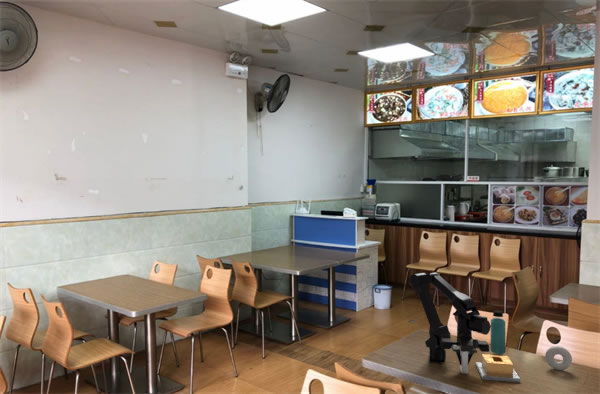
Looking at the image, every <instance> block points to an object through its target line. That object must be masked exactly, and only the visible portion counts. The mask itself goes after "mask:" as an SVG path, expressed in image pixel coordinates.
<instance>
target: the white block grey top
mask: <svg viewBox="0 0 600 394" xmlns="http://www.w3.org/2000/svg"><path fill="white" fill-rule="evenodd" d="M460 355H461V365H460V364H459V371H460V372H461V374H468V373H469V372H468V371H469V370H468V369H469V367H468V366H469V365H468V352H462V351H461V350H460Z"/></svg>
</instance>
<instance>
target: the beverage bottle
mask: <svg viewBox="0 0 600 394" xmlns="http://www.w3.org/2000/svg"><path fill="white" fill-rule="evenodd" d="M492 316H493V318H491V319H490V325H491V328H490V331H489V334H490V341H489V343H490V344H489V351H490V352H491V353H492V354H495V355H504V354H506V352H507V350H506V347H507V346H506V345H507V344H506V343H507V342H506V340H507V336H506V323H507V322H506V320H505V319H503V317H504V313H503V311H501V310H493V314H492Z"/></svg>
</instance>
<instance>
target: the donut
mask: <svg viewBox="0 0 600 394" xmlns="http://www.w3.org/2000/svg"><path fill="white" fill-rule="evenodd" d="M544 355H545V356H544V359H545V362H546V363H547V365H548V366H549V367H550V368H552V369H553V370H556V371H565V370H567V369H569V368H570V367H571V365H572V363H573V357H572V354H571V352H570V351H569V350H568V349H566V348H565V347H563V346H559V345H554V346H550V347H549V348H548V349H546V351H545V353H544ZM556 355H559V356H560V357H562V360H560V361H557V360H556V359H555V356H556Z"/></svg>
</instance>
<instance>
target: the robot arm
mask: <svg viewBox="0 0 600 394" xmlns="http://www.w3.org/2000/svg"><path fill="white" fill-rule="evenodd" d="M408 281H409V284H410V286H411V287H412V290H413V291H414V292H415V293H417V295H418V298H419V299H420V302H421V305H422V307H423V310H424V313H425V315H426V318H427V322H428V324H429V330H428V333H429V334H428V335H429V337H428V339H427V340H426V341H424V343H425V348H428V362H430V363H435V364H436V363H439V364H445V363H446V359H447V357H446V356H447V352H446V350H452V351H453V352H455V354H456V356H457V357H456V358H457V360H458V363H459V366H460V365H461V355H460V350H461V351H462V352H468V366H469V364H470V362H471V359H472V357H473V355H475V354H477V353H478V349H479V351H480V352H483V353H488V352H490V344H489V343H488V342H487V340H479V339H475V338H473V337H472V336H473V334H472V332H475V333H477V334H481V335H485V336H486V335H488V334H490V331H491V321H489V320H488V316H482V315H481V313H480V312H479V310H478V308H477V305H476V304H475V301H474V299H473V298H472V297H470V296H469V295H468V294H465V293H463V292H460V291H458V290H456V288H454V286H452V285H451V284H450V283H448V282H447V281H446V280H445V279H444V278H443V277H442V276H441V275H440V273H438V272H436V271H435V272H430V273H425V272H419V273H413V274H411V275H410V277H409V280H408ZM431 284H432V285H433V286H434V287H436V289H438V290H439V292H441V293H442V294H443V295H444V296H445V297H446V298H447V299H448V300H449V301H450V303H451V305H452V307H453V308H454V309H455V311H454V312H452V315H453V316H456V319H457V320H456V321H457V322H456V341H451V334H452V333H451V332H450V329H449V326H448V325H447V324H445V325H444V324H443V323H442V322H441V320H440V317H439V314H438V311H437V308H436V306H435V303H434V301H433V297H432V295H431V293H430V288H431Z"/></svg>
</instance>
